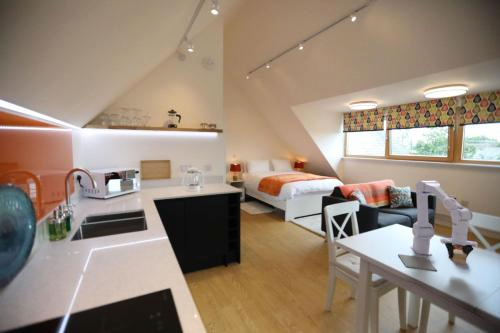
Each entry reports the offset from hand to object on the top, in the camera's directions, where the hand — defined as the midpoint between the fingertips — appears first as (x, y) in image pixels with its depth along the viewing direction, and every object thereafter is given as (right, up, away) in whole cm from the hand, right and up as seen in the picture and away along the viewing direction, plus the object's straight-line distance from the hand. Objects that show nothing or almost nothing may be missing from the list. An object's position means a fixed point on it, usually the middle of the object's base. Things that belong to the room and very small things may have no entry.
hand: (457, 258), depth 118 cm
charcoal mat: (-12, -7, +12) cm, 19 cm away
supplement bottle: (+14, -7, +14) cm, 21 cm away
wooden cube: (0, -2, 0) cm, 2 cm away
